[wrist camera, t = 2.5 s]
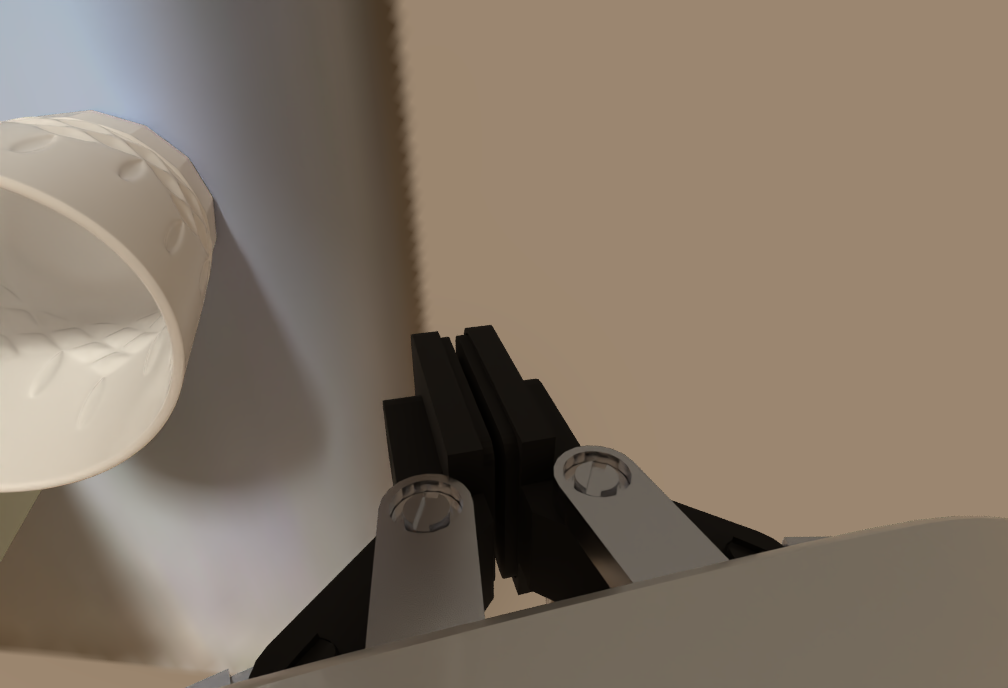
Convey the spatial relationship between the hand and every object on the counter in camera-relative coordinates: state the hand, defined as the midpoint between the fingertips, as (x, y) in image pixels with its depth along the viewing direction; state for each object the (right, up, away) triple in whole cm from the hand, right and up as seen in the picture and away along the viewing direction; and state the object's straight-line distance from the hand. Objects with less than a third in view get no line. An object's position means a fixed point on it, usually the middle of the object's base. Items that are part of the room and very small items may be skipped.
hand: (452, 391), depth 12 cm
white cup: (-13, +6, +8) cm, 16 cm away
